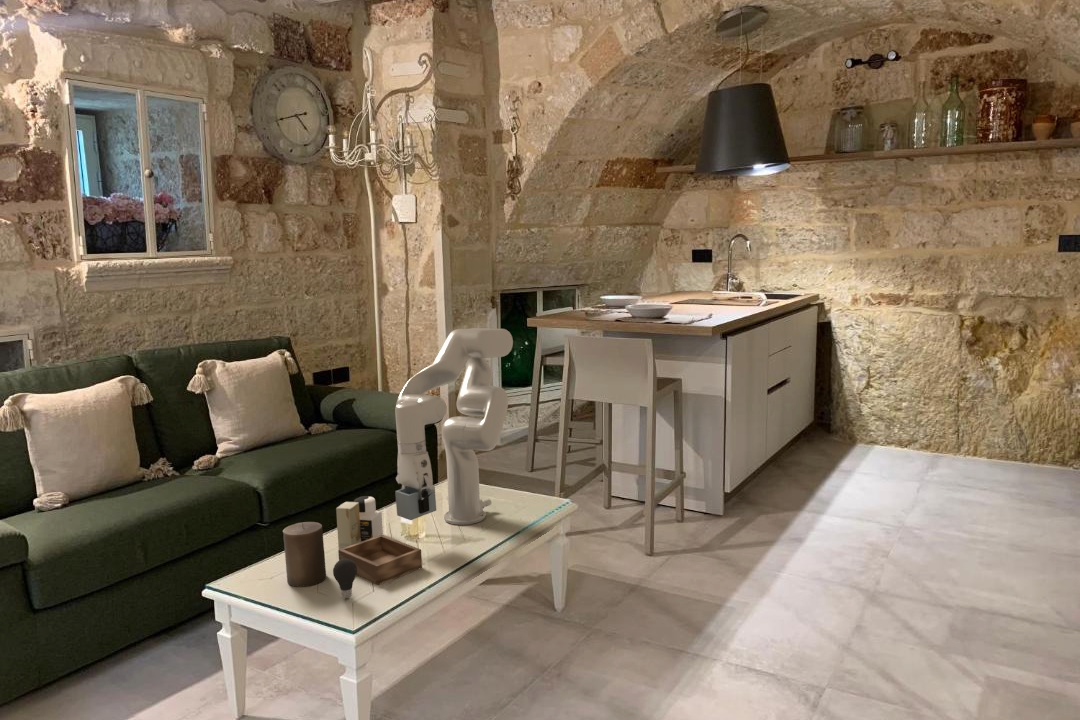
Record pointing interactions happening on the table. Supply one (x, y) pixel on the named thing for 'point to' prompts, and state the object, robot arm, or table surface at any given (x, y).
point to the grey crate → (412, 503)
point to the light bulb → (345, 576)
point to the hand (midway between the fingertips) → (416, 508)
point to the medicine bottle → (369, 518)
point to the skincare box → (348, 524)
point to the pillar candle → (304, 554)
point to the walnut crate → (382, 558)
